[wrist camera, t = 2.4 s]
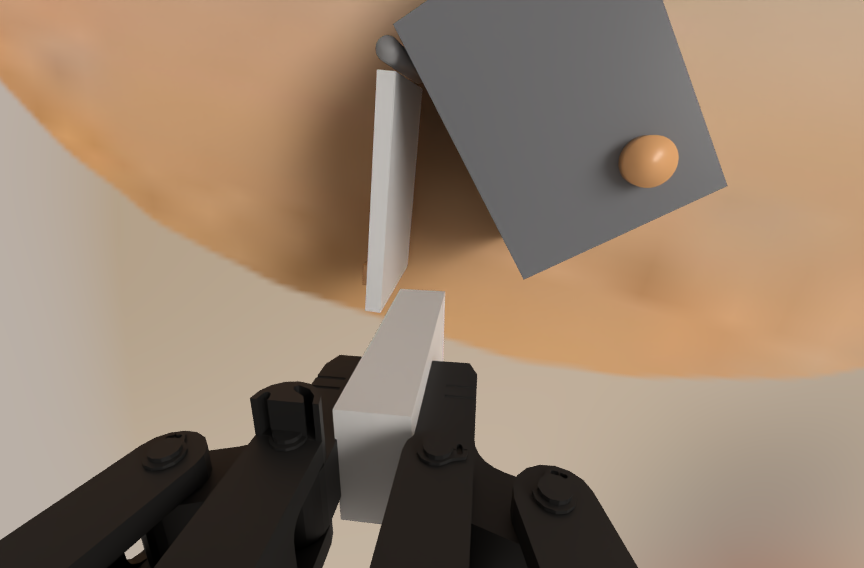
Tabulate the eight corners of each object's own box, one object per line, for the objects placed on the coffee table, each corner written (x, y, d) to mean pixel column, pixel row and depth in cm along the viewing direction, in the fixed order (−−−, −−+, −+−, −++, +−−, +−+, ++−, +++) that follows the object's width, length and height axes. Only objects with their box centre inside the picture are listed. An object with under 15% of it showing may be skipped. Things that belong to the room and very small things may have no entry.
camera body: (405, 23, 25) (357, -41, 15) (551, -78, 22) (596, -224, 13) (512, 234, 28) (525, 285, 19) (648, 167, 26) (738, 188, 16)
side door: (396, 62, 25) (354, 32, 17) (427, 65, 25) (400, 36, 17) (383, 260, 30) (346, 307, 22) (410, 264, 30) (382, 312, 22)
